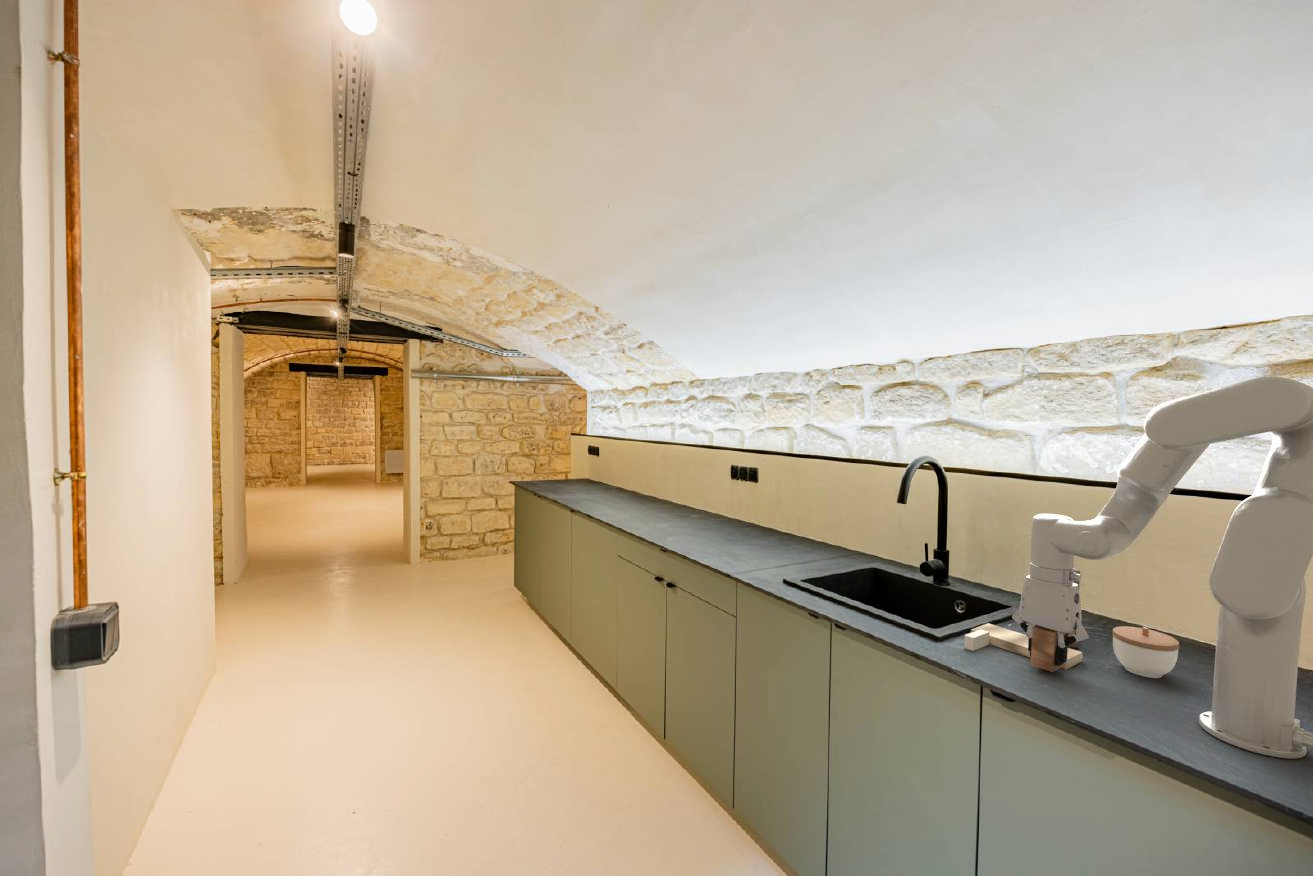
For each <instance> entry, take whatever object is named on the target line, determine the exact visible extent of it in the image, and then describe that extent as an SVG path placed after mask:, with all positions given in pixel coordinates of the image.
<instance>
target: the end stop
mask: <svg viewBox="0 0 1313 876" xmlns="http://www.w3.org/2000/svg"><path fill="white" fill-rule="evenodd" d="M963 643H964V645H963V649H965V650H969V651H972V652H974V651H977V650H979V649H981V648H984V647H986V646H989V645H990V644H989V632H988V631H985V630H982V629H980V630H977V631H975V632H972V633H971V632H970V633H965V634H964V642H963Z"/></svg>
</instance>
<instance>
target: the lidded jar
mask: <svg viewBox="0 0 1313 876" xmlns="http://www.w3.org/2000/svg"><path fill="white" fill-rule="evenodd" d="M1112 647H1113V653H1114V654H1115V657H1116V659H1117V660H1118V662H1119V663H1120V664H1121V665H1122V666H1124V669H1125V670H1126V671H1128V672H1129V673H1131V674H1134V675H1137V676H1140V677H1144V678H1150V679H1161V678H1163V676H1165V675H1166V674H1168V673H1170V672H1171V671H1173V669H1174V668H1175V667H1176V664H1177V661H1178V656H1179V648H1180V642H1179V641H1178V640H1177V639H1176V638H1174V636H1173V637H1172V636H1171V635H1168V634H1167V633H1166V634H1165V633H1162V632H1159V631H1156V630H1152V629H1149V628H1148V627H1146V626H1144V627H1143V626H1142V627H1135V626H1126V625H1125V626H1116V627H1113V628H1112Z"/></svg>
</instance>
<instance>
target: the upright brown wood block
mask: <svg viewBox="0 0 1313 876" xmlns="http://www.w3.org/2000/svg"><path fill="white" fill-rule="evenodd" d="M1069 635H1070V636H1072V635H1075V630H1073V632H1072V633H1070V634H1069ZM1056 646H1058V640H1057V634H1056V631H1053V630H1049V629H1046V628H1043V627H1039V626H1034V627H1032V646H1031V658H1030V666H1034V667H1036V668H1040V669H1043V670H1045V671H1048V672H1051V673H1053V672H1055V671H1057V670H1059V669H1062V668H1061V667H1062V666H1063V664H1062V665H1060V666H1056V665H1055V647H1056Z"/></svg>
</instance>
